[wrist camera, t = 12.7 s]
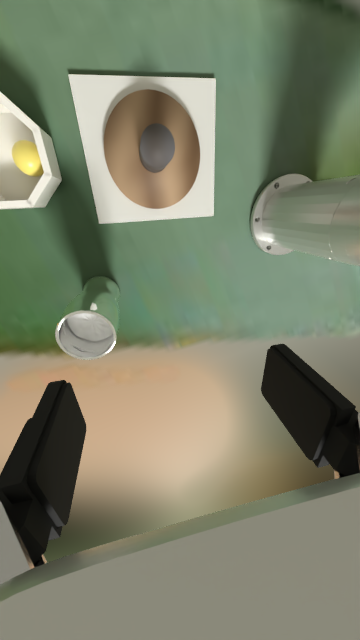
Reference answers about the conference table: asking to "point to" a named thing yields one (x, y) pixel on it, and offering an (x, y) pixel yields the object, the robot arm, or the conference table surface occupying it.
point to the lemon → (27, 158)
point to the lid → (151, 149)
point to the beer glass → (90, 320)
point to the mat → (92, 113)
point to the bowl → (7, 179)
